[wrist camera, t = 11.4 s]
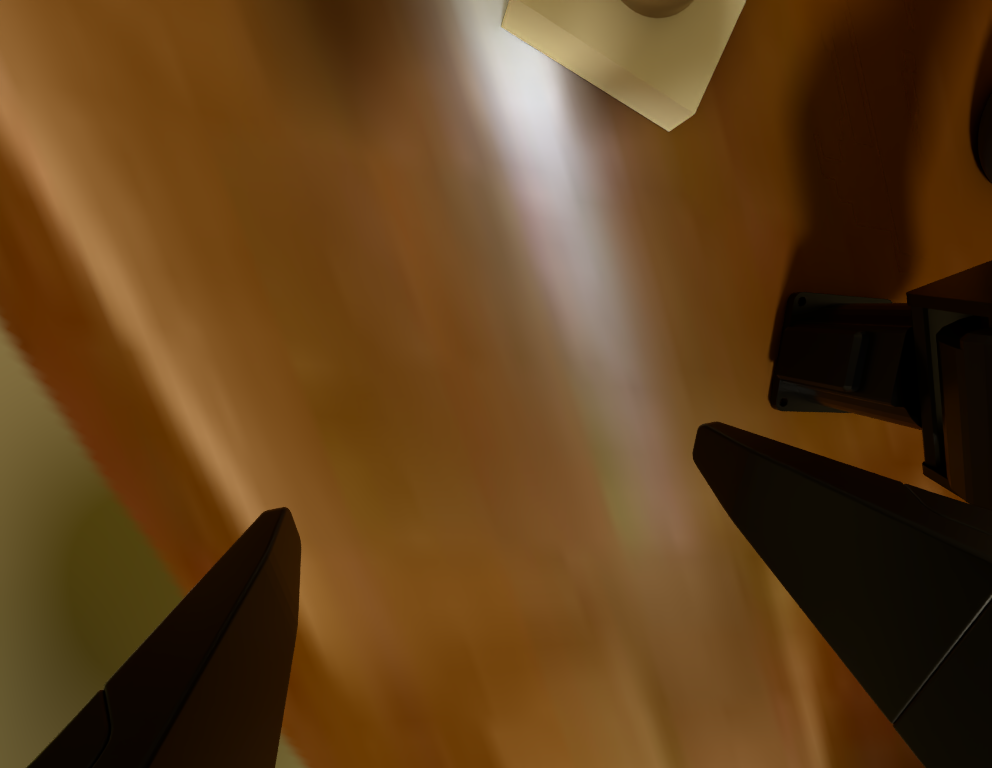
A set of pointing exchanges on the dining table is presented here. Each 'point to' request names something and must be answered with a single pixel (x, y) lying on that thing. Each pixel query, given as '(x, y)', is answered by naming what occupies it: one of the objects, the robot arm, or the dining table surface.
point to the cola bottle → (986, 139)
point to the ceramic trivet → (632, 49)
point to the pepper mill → (657, 7)
